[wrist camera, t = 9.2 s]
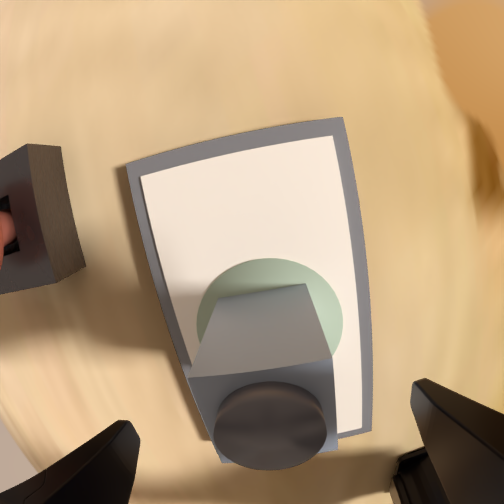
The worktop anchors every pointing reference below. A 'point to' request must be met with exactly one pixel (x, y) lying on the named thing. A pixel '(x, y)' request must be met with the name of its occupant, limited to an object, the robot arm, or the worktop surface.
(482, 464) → the robot arm
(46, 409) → the worktop surface
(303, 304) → the grey rectangular block
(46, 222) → the button housing
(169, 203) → the drawing board
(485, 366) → the worktop surface
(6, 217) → the button
